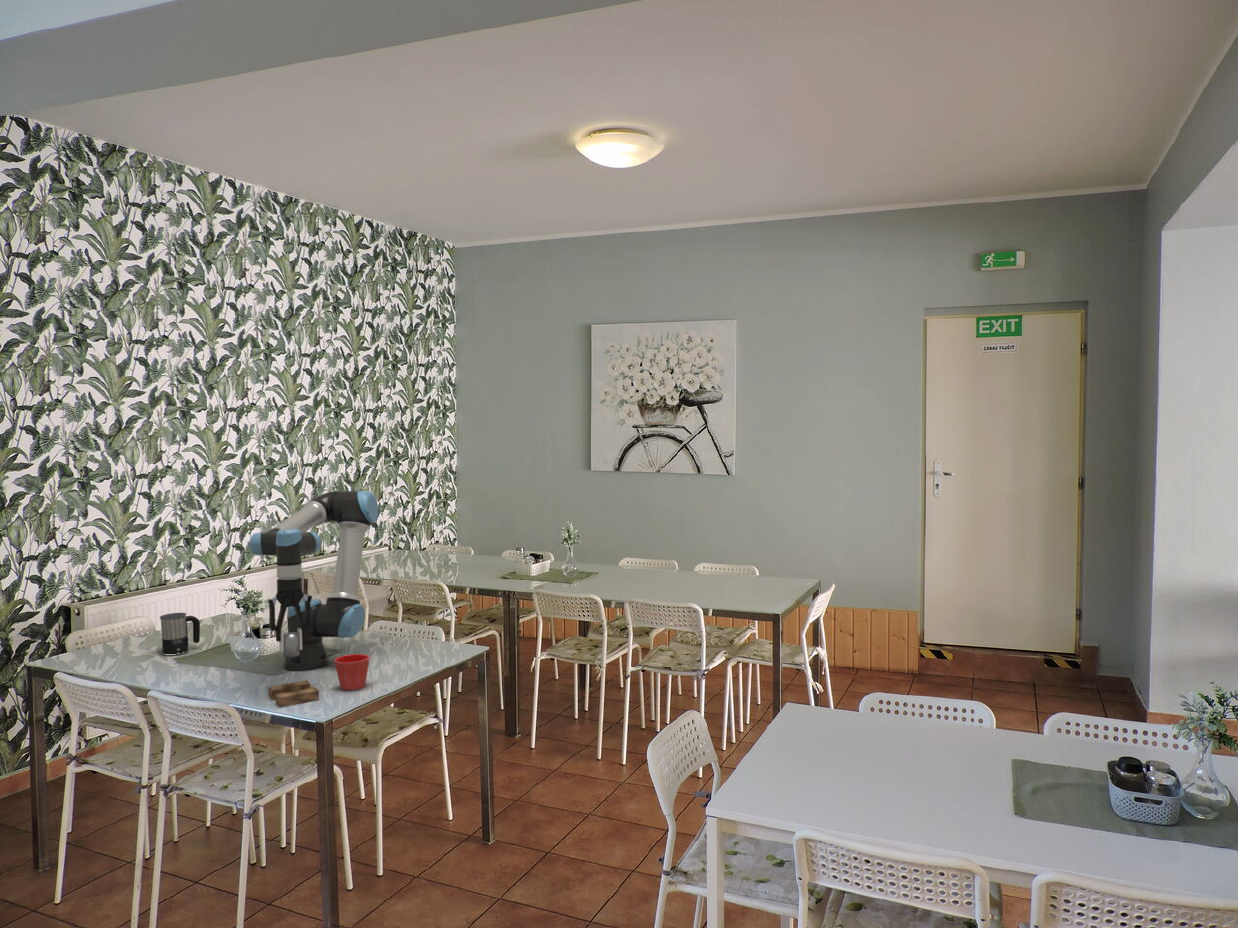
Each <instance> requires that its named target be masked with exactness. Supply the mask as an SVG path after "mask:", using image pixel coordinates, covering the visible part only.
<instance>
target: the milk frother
mask: <svg viewBox="0 0 1238 928" xmlns="http://www.w3.org/2000/svg"><path fill="white" fill-rule="evenodd" d="M159 619H160V626H161V627H160V628H161V642H162V643H161V644H162V648H161V649H162V650H161V651H162V652H161V654H162V653H164V654H177V653H183V652H186V651H188V650H189V649H188V648H189V637H188V636H189V634H188V622H191V623H192V628H193V629H192V630H193V631H192V632H193V633H192V641H193V643H194V644H198V643H200V635H201V633H200V631H201V623H200V620H199V618H198V617H196V616H194V615H187V613H186V612H172V613H166V614H163V615H160V616H159ZM188 652H189V651H188Z"/></svg>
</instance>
